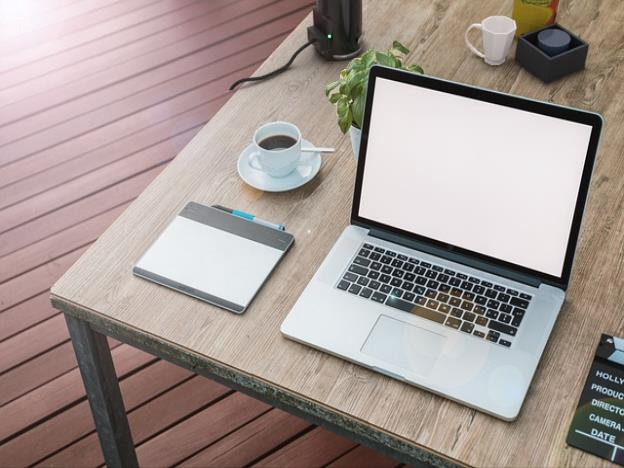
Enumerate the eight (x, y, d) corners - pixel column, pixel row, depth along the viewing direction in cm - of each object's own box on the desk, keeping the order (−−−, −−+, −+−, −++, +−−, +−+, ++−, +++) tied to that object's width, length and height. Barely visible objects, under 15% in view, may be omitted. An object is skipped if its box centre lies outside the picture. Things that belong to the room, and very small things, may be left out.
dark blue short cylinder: (550, 62, 163) (552, 49, 161) (529, 47, 167) (531, 35, 165) (574, 52, 165) (577, 40, 163) (553, 37, 169) (555, 25, 167)
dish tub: (545, 84, 164) (550, 60, 160) (514, 60, 170) (517, 36, 166) (584, 68, 167) (589, 44, 163) (551, 45, 173) (556, 21, 169)
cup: (506, 72, 167) (511, 37, 162) (458, 61, 171) (461, 27, 165) (516, 53, 172) (521, 18, 166) (469, 43, 175) (472, 9, 169)
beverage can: (540, 47, 173) (549, -6, 164) (501, 33, 177) (508, -19, 169) (561, 27, 178) (571, -25, 169) (523, 14, 182) (530, -37, 173)
